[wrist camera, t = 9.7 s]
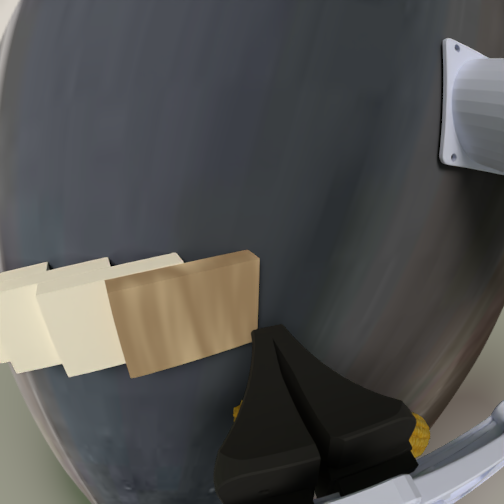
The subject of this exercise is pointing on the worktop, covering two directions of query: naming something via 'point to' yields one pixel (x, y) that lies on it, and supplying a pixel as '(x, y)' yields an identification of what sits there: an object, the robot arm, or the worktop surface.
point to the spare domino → (185, 310)
